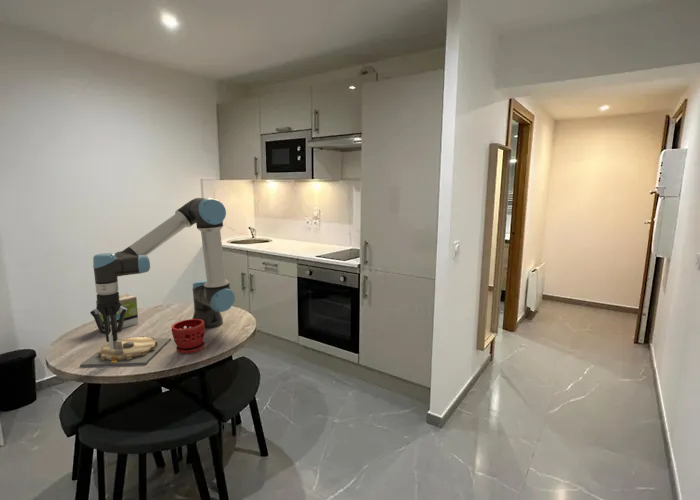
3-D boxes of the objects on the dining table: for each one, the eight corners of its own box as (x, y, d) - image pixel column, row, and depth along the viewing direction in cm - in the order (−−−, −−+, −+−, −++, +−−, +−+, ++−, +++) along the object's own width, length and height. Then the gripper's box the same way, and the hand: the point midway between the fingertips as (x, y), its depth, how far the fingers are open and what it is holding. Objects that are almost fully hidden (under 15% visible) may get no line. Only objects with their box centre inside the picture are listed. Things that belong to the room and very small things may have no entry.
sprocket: (118, 339, 173) (116, 326, 172) (166, 339, 174) (165, 325, 173) (86, 361, 152) (84, 345, 151) (141, 360, 152) (139, 345, 151)
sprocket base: (170, 340, 176) (170, 336, 176) (146, 364, 152) (145, 360, 151) (114, 341, 174) (114, 338, 174) (80, 366, 150) (79, 363, 150)
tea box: (108, 333, 185) (105, 303, 183) (98, 329, 190) (94, 300, 188) (139, 323, 198) (136, 296, 195) (128, 320, 203) (126, 293, 201)
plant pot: (200, 341, 175) (198, 316, 173) (210, 350, 165) (208, 324, 163) (170, 348, 167) (167, 322, 165) (178, 359, 157) (176, 331, 155)
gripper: (85, 296, 146) (91, 354, 150) (122, 294, 149) (127, 351, 153) (93, 290, 153) (98, 346, 157) (128, 289, 156) (133, 343, 160)
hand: (112, 348), depth 155 cm, fingers closed
